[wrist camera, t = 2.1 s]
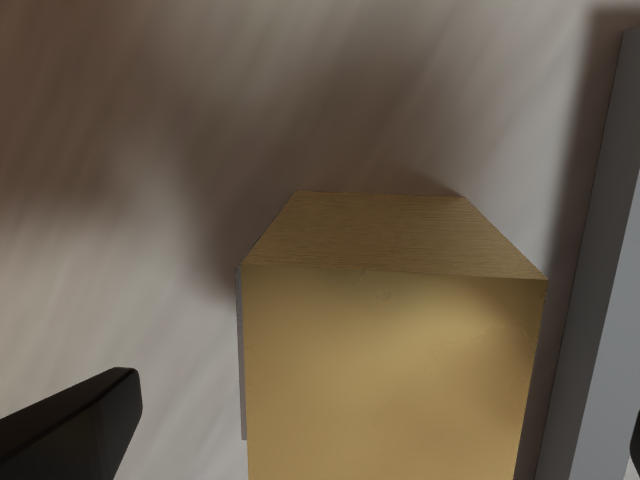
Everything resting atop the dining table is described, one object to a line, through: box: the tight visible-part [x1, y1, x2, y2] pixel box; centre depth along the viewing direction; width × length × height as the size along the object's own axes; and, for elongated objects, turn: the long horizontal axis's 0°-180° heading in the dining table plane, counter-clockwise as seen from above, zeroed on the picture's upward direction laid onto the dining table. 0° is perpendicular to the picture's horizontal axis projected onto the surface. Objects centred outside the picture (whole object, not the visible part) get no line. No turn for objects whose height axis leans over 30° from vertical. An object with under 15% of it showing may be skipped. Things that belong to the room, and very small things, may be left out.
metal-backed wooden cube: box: [235, 191, 549, 480], centre depth 11 cm, size 6×5×6 cm
